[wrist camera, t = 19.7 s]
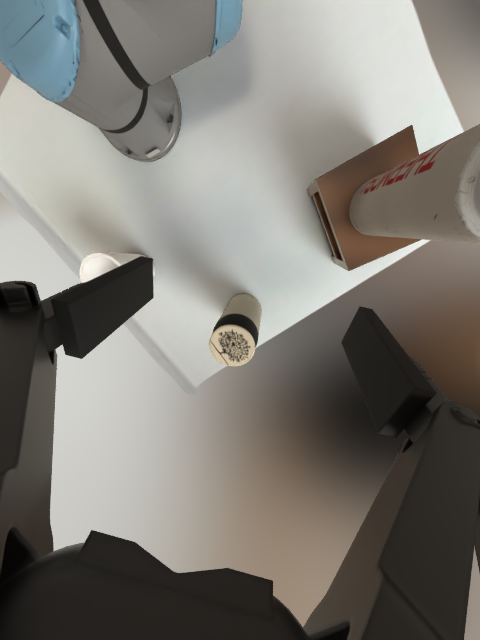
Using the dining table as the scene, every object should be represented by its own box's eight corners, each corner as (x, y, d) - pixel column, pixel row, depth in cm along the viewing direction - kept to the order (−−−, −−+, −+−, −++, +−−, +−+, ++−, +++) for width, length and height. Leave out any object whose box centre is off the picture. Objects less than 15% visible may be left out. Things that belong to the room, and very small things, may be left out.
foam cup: (142, 295, 55) (106, 314, 43) (115, 263, 53) (69, 273, 41) (169, 273, 52) (139, 286, 40) (142, 238, 50) (101, 241, 38)
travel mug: (253, 288, 51) (243, 316, 35) (266, 319, 53) (264, 359, 37) (221, 301, 53) (199, 334, 37) (236, 330, 56) (221, 373, 39)
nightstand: (306, 189, 43) (316, 178, 34) (379, 148, 39) (412, 124, 30) (333, 262, 47) (348, 271, 38) (401, 232, 43) (436, 233, 34)
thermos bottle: (340, 198, 34) (548, 104, 8) (395, 162, 32) (929, -123, 6) (361, 245, 36) (582, 288, 10) (415, 215, 34) (877, 174, 8)
